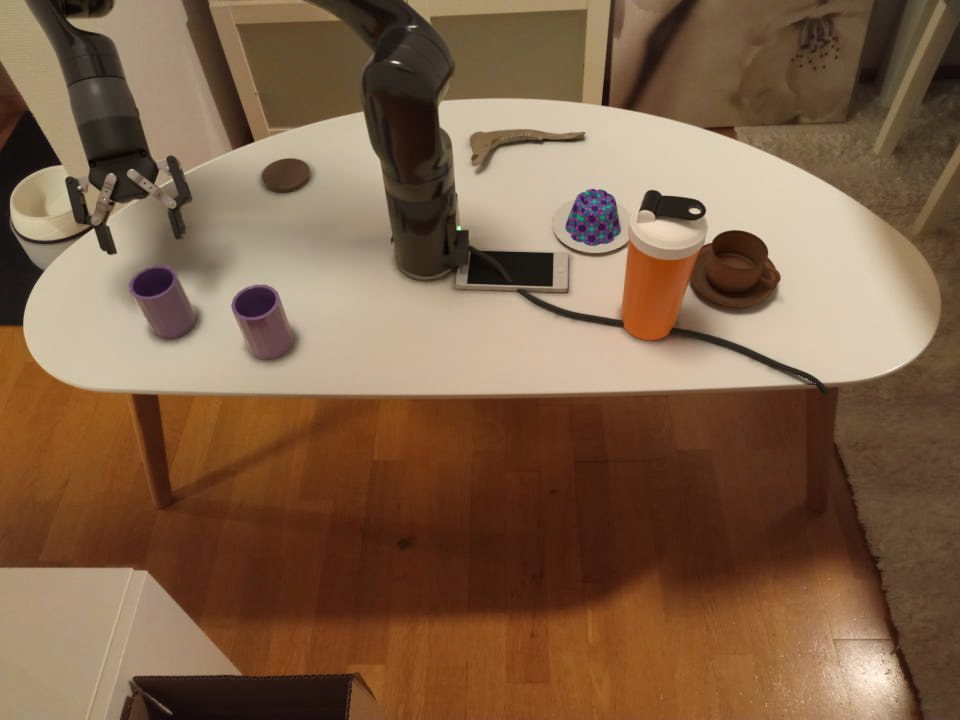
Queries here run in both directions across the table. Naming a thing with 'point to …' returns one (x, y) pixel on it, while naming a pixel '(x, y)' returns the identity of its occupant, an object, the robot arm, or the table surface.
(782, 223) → the table surface
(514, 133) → the jawbone
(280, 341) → the cup
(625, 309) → the shaker bottle
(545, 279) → the smartphone
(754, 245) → the cup and saucer
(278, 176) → the coaster
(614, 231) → the pudding
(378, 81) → the robot arm
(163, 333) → the cup
